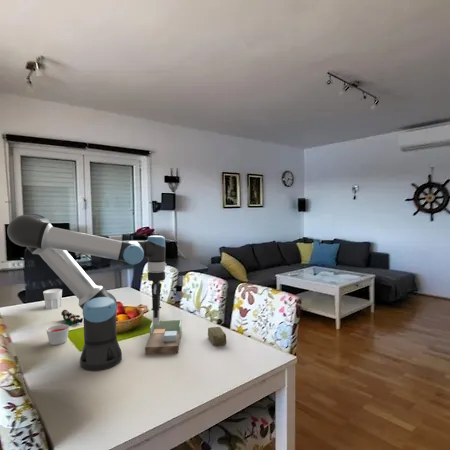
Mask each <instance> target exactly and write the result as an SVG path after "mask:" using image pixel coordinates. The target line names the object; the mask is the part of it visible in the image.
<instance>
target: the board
mask: <svg viewBox="0 0 450 450" xmlns="http://www.w3.org/2000/svg"><path fill="white" fill-rule="evenodd" d="M164 334H165V333H160V334H150V333H149V336H148V339H147V342H146V345H145V346H144V351H145V352H144V355H164V354H165V355H166V354H167V355H168V354H178V353H179V350H180V344H181V343H180V342H181V339H180V333H177V340H176V341H164Z"/></svg>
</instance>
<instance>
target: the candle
mask: <svg viewBox="0 0 450 450" xmlns="http://www.w3.org/2000/svg"><path fill="white" fill-rule="evenodd" d="M69 330H70V326H69V325H67V324H56V325H52V326H49V327H47V328H46V329H45V331H46V334H47V339H48V342H49V343H48V344H50V345H51V346H58V345H62V344H64V343H67V341H68V337H69Z"/></svg>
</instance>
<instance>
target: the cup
mask: <svg viewBox="0 0 450 450" xmlns="http://www.w3.org/2000/svg"><path fill="white" fill-rule="evenodd" d="M42 294H43V298H44V299H43V300H44V304H45V305H44V307H45V309H46V310H55V309H58V308H60V307H61V308H62V298H63V297H62V296H63V288H62V289H61V288H51V289H46V290H44V291H43V292H42Z"/></svg>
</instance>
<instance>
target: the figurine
mask: <svg viewBox="0 0 450 450" xmlns="http://www.w3.org/2000/svg"><path fill="white" fill-rule="evenodd" d="M61 316H62V318H63V320H64V322H65V325H69V327H70V326H75V325H78V324H83V322H84V319H83V318H81V317H80V315H77V314H74V313H72V312H69V311H68V310H67V309H63V310H62V311H61Z"/></svg>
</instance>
